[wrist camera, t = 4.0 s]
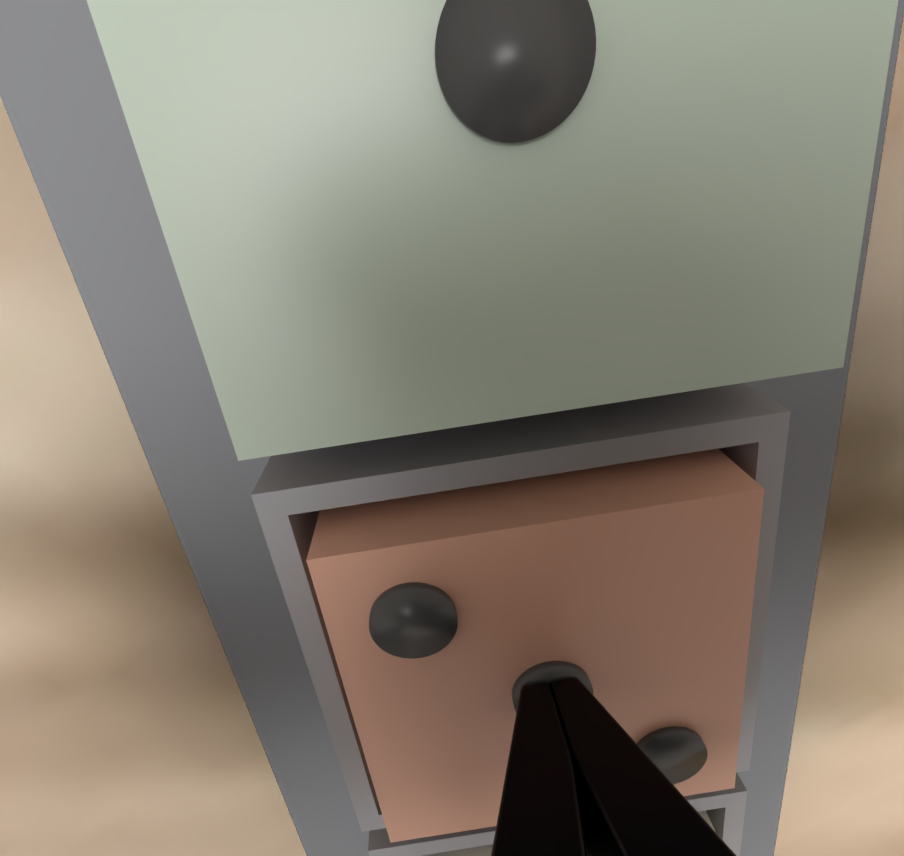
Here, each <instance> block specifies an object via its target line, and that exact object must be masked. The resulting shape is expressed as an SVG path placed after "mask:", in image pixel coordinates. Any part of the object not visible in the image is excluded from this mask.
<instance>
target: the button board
mask: <svg viewBox="0 0 904 856" xmlns="http://www.w3.org/2000/svg"><path fill="white" fill-rule="evenodd" d="M903 15H904V0H898V7H897V13H896V20H895V26H894V33H893V40H892V46H891V53H890V60H889V66H888V73H887V80H886V86H885V93H884V100H883V106H882V113H881V120H880V126H879V133H878V140H877V146H876V153H875V160H874V166H873V173H872V180H871V186H870V193H869V200H868V206H867V213H866V220H865V226H864V233H863V240H862V246H861V253H860V260H859V266H858V273H857V280H856V286H855V293H854V300H853V306H852V313H851V320H850V326H849V333H848V340H847V346H846V353H845V360H844V366H843V367H842V368H836V369H830V370H823V371H817V372H810V373H804V374H797V375H791V376H784V377H778V378H771V379H765V380H758V381H752V382H745V383H739V384H733V385H726V386H720V387H713V388H707V389H700V390H694V391H687V392H681V393H674V394H668V395H661V396H655V397H649V398H642V399H636V400H629V401H623V402H616V403H610V404H603V405H597V406H590V407H584V408H577V409H571V410H565V411H558V412H552V413H545V414H539V415H532V416H526V417H519V418H513V419H506V420H500V421H493V422H487V423H480V424H474V425H468V426H461V427H455V428H448V429H442V430H435V431H429V432H422V433H416V434H409V435H403V436H396V437H390V438H384V439H377V440H371V441H364V442H358V443H351V444H345V445H338V446H332V447H325V448H319V449H312V450H306V451H299V452H293V453H287V454H280V455H274V456H267V457H261V458H254V459H248V460H241V461H238V458H237V455H236V452H235V449H234V446H233V443H232V440H231V437H230V434H229V431H228V428H227V425H226V422H225V419H224V416H223V413H222V410H221V407H220V404H219V401H218V398H217V395H216V392H215V389H214V386H213V383H212V380H211V376H210V373H209V370H208V367H207V364H206V361H205V358H204V355H203V352H202V349H201V346H200V343H199V340H198V337H197V334H196V331H195V328H194V325H193V322H192V319H191V316H190V313H189V310H188V307H187V304H186V301H185V298H184V295H183V292H182V289H181V286H180V282H179V279H178V276H177V273H176V270H175V267H174V264H173V261H172V258H171V255H170V252H169V249H168V246H167V243H166V240H165V237H164V234H163V231H162V228H161V225H160V222H159V219H158V216H157V213H156V210H155V207H154V204H153V201H152V198H151V195H150V192H149V188H148V185H147V182H146V179H145V176H144V173H143V170H142V167H141V164H140V161H139V158H138V155H137V152H136V149H135V146H134V143H133V140H132V137H131V134H130V131H129V128H128V125H127V122H126V119H125V116H124V113H123V110H122V107H121V104H120V101H119V98H118V94H117V91H116V88H115V85H114V82H113V79H112V76H111V73H110V70H109V67H108V64H107V61H106V58H105V55H104V52H103V49H102V46H101V43H100V40H99V37H98V34H97V31H96V28H95V25H94V22H93V19H92V16H91V13H90V10H89V7H88V4H87V0H0V96H1V98H2V101H3V103H4V106H5V108H6V111H7V113H8V116H9V118H10V121H11V123H12V126H13V128H14V131H15V133H16V136H17V138H18V141H19V143H20V146H21V148H22V150H23V153H24V155H25V158H26V160H27V163H28V165H29V168H30V170H31V173H32V175H33V178H34V180H35V183H36V185H37V188H38V190H39V193H40V195H41V198H42V200H43V203H44V205H45V207H46V210H47V212H48V215H49V217H50V220H51V222H52V225H53V227H54V230H55V232H56V235H57V237H58V240H59V242H60V245H61V247H62V250H63V252H64V255H65V257H66V260H67V262H68V265H69V267H70V269H71V272H72V274H73V277H74V279H75V282H76V284H77V287H78V289H79V292H80V294H81V297H82V299H83V302H84V304H85V307H86V309H87V312H88V314H89V317H90V319H91V322H92V324H93V326H94V329H95V331H96V334H97V336H98V339H99V341H100V344H101V346H102V349H103V351H104V354H105V356H106V359H107V361H108V364H109V366H110V369H111V371H112V374H113V376H114V379H115V381H116V383H117V386H118V388H119V391H120V393H121V396H122V398H123V401H124V403H125V406H126V408H127V411H128V413H129V416H130V418H131V421H132V423H133V426H134V428H135V431H136V433H137V436H138V438H139V441H140V443H141V445H142V448H143V450H144V453H145V455H146V458H147V460H148V463H149V465H150V468H151V470H152V473H153V475H154V478H155V480H156V483H157V485H158V488H159V490H160V493H161V495H162V498H163V500H164V502H165V505H166V507H167V510H168V512H169V515H170V517H171V520H172V522H173V525H174V527H175V530H176V532H177V535H178V537H179V540H180V542H181V545H182V547H183V550H184V552H185V555H186V557H187V560H188V562H189V564H190V567H191V569H192V572H193V574H194V577H195V579H196V582H197V584H198V587H199V589H200V592H201V594H202V597H203V599H204V602H205V604H206V607H207V609H208V612H209V614H210V617H211V619H212V621H213V624H214V626H215V629H216V631H217V634H218V636H219V639H220V641H221V644H222V646H223V649H224V651H225V654H226V656H227V659H228V661H229V664H230V666H231V669H232V671H233V674H234V676H235V679H236V681H237V683H238V686H239V688H240V691H241V693H242V696H243V698H244V701H245V703H246V706H247V708H248V711H249V713H250V716H251V718H252V721H253V723H254V726H255V728H256V731H257V733H258V736H259V738H260V740H261V743H262V745H263V748H264V750H265V753H266V755H267V758H268V760H269V763H270V765H271V768H272V770H273V773H274V775H275V778H276V780H277V783H278V785H279V788H280V790H281V793H282V795H283V797H284V800H285V802H286V805H287V807H288V810H289V812H290V815H291V817H292V820H293V822H294V825H295V827H296V830H297V832H298V835H299V837H300V840H301V842H302V845H303V847H304V850H305V852H306V855H307V856H422V855H428V854H434V853H441V852H447V851H453V850H460V849H466V848H472V847H479V846H485V845H491V844H493V842H494V836H495V830H496V826H493V827H486V828H480V829H474V830H468V831H461V832H455V833H449V834H442V835H436V836H430V837H423V838H417V839H411V840H405V841H398V842H392V843H390V839H389V836H388V832H387V829H386V826H385V822H384V819H383V816H382V812H381V809H380V806H379V802H378V799H377V796H376V792H375V789H374V786H373V782H372V779H371V776H370V772H369V769H368V766H367V762H366V759H365V755H364V752H363V749H362V745H361V742H360V739H359V735H358V732H357V729H356V725H355V722H354V719H353V715H352V712H351V709H350V705H349V702H348V699H347V695H346V692H345V689H344V685H343V682H342V679H341V675H340V672H339V668H338V665H337V662H336V658H335V655H334V652H333V648H332V645H331V642H330V638H329V635H328V632H327V628H326V625H325V622H324V618H323V615H322V612H321V608H320V605H319V602H318V598H317V595H316V592H315V588H314V585H313V581H312V578H311V575H310V571H309V568H308V565H307V561H306V559H307V555H308V552H309V548H310V544H311V541H312V537H313V533H314V530H315V526H316V523H317V519H318V515H319V512H320V510H325V509H332V508H338V507H344V506H351V505H357V504H364V503H370V502H377V501H383V500H390V499H396V498H402V497H409V496H415V495H422V494H428V493H435V492H441V491H447V490H454V489H460V488H467V487H473V486H480V485H486V484H493V483H499V482H505V481H512V480H518V479H525V478H531V477H538V476H544V475H551V474H557V473H563V472H570V471H576V470H583V469H589V468H596V467H602V466H608V465H615V464H621V463H628V462H634V461H641V460H647V459H654V458H660V457H666V456H673V455H679V454H686V453H692V452H699V451H705V450H711V449H719V450H720V451H722V452H723V453H724V454H725V455H726V456H727V457H728V458H730V459H731V460H732V461H733V462H734V463H735V464H736V465H738V466H739V467H740V468H741V469H742V470H743V471H744V472H746V473H747V474H748V475H749V476H750V477H751V478H752V479H754V480H755V481H756V482H757V483H758V484H759V485H761V486H762V487H763V488H764V498H763V508H762V518H761V528H760V538H759V548H758V558H757V568H756V578H755V588H754V598H753V608H752V618H751V628H750V638H749V648H748V658H747V668H746V678H745V688H744V698H743V708H742V718H741V728H740V738H739V748H738V759H737V769H736V779H735V788H732V789H726V790H720V791H713V792H707V793H701V794H694V795H688V796H684V797H685V798H686V799H687V801H688V802H689V803H690V804H691V805H692V806H693V807H694V808H695V809H696V811H697V812H699V811H705V810H706V812H707V814H708V816H709V819H710V821H711V823H712V825H713V827H714V829H715V831H716V833H717V834H718V835H719V836H720V837H721V839H722V840H723V841H724V842H725V843H726V844H727V845H728V846H729V848H730V849H731V850H732V851H733V852H734V853H735V854H736V855H737V856H774V850H775V844H776V837H777V831H778V824H779V818H780V811H781V805H782V798H783V792H784V785H785V779H786V772H787V766H788V760H789V753H790V747H791V740H792V734H793V727H794V721H795V714H796V708H797V701H798V695H799V688H800V682H801V675H802V669H803V662H804V656H805V649H806V643H807V636H808V630H809V624H810V617H811V611H812V604H813V598H814V591H815V585H816V578H817V572H818V565H819V559H820V552H821V546H822V539H823V533H824V526H825V520H826V513H827V507H828V500H829V494H830V488H831V481H832V475H833V468H834V462H835V455H836V449H837V442H838V436H839V429H840V423H841V416H842V410H843V403H844V397H845V390H846V384H847V377H848V371H849V364H850V358H851V351H852V345H853V339H854V332H855V326H856V319H857V313H858V306H859V300H860V293H861V287H862V280H863V274H864V267H865V261H866V254H867V248H868V241H869V235H870V228H871V222H872V215H873V209H874V203H875V196H876V190H877V183H878V177H879V170H880V164H881V157H882V151H883V144H884V138H885V131H886V125H887V118H888V112H889V105H890V99H891V92H892V86H893V79H894V73H895V67H896V60H897V54H898V47H899V41H900V34H901V28H902V21H903Z"/></svg>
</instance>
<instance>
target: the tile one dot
mask: <svg viewBox="0 0 904 856" xmlns="http://www.w3.org/2000/svg"><path fill="white" fill-rule="evenodd" d="M87 4H88V7H89V10H90V13H91V16H92V19H93V22H94V25H95V28H96V31H97V34H98V37H99V40H100V43H101V46H102V49H103V52H104V55H105V58H106V61H107V64H108V67H109V70H110V73H111V76H112V79H113V82H114V85H115V88H116V91H117V94H118V98H119V101H120V104H121V107H122V110H123V113H124V116H125V119H126V122H127V125H128V128H129V131H130V134H131V137H132V140H133V143H134V146H135V149H136V152H137V155H138V158H139V161H140V164H141V167H142V170H143V173H144V176H145V179H146V182H147V185H148V188H149V192H150V195H151V198H152V201H153V204H154V207H155V210H156V213H157V216H158V219H159V222H160V225H161V228H162V231H163V234H164V237H165V240H166V243H167V246H168V249H169V252H170V255H171V258H172V261H173V264H174V267H175V270H176V273H177V276H178V279H179V282H180V286H181V289H182V292H183V295H184V298H185V301H186V304H187V307H188V310H189V313H190V316H191V319H192V322H193V325H194V328H195V331H196V334H197V337H198V340H199V343H200V346H201V349H202V352H203V355H204V358H205V361H206V364H207V367H208V370H209V373H210V376H211V380H212V383H213V386H214V389H215V392H216V395H217V398H218V401H219V404H220V407H221V410H222V413H223V416H224V419H225V422H226V425H227V428H228V431H229V434H230V437H231V440H232V443H233V446H234V449H235V452H236V455H237V458H238V461H241V460H248V459H254V458H261V457H267V456H274V455H280V454H287V453H293V452H299V451H306V450H312V449H319V448H325V447H332V446H338V445H345V444H351V443H358V442H364V441H371V440H377V439H384V438H390V437H396V436H403V435H409V434H416V433H422V432H429V431H435V430H442V429H448V428H455V427H461V426H468V425H474V424H480V423H487V422H493V421H500V420H506V419H513V418H519V417H526V416H532V415H539V414H545V413H552V412H558V411H565V410H571V409H577V408H584V407H590V406H597V405H603V404H610V403H616V402H623V401H629V400H636V399H642V398H649V397H655V396H661V395H668V394H674V393H681V392H687V391H694V390H700V389H707V388H713V387H720V386H726V385H733V384H739V383H745V382H752V381H758V380H765V379H771V378H778V377H784V376H791V375H797V374H804V373H810V372H817V371H823V370H830V369H836V368H842V367H843V366H844V360H845V353H846V346H847V340H848V333H849V326H850V320H851V313H852V306H853V300H854V293H855V286H856V280H857V273H858V266H859V260H860V253H861V246H862V240H863V233H864V226H865V220H866V213H867V206H868V200H869V193H870V186H871V180H872V173H873V166H874V160H875V153H876V146H877V140H878V133H879V126H880V120H881V113H882V106H883V100H884V93H885V86H886V80H887V73H888V66H889V60H890V53H891V46H892V40H893V33H894V26H895V20H896V13H897V7H898V0H87Z"/></svg>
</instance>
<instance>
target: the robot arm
mask: <svg viewBox="0 0 904 856" xmlns="http://www.w3.org/2000/svg"><path fill="white" fill-rule="evenodd" d="M491 856H737V855H736V854H735V853H734V852H733V851H732V850H731V849H730V848H729V846H728V845H727V844H726V843H725V842H724V841H723V840H722V839H721V837H720V836H719V835H718V834H717V833H716V832H715V831H714V830H713V829H712V827H711V826H710V825H709V824H708V823H707V822H706V821H705V820H704V818H703V817H702V816H701V815H700V814H699V813H698V812H697V811H696V809H695V808H694V807H693V806H692V805H691V804H690V803H689V802H688V801H687V799H686V798H685V797H684V796H683V795H682V794H681V793H680V792H679V790H678V789H677V788H676V787H675V786H674V785H673V784H672V783H671V781H670V780H669V779H668V778H667V777H666V776H665V775H664V774H663V773H662V771H661V770H660V769H659V768H658V767H657V766H656V765H655V764H654V762H653V761H652V760H651V759H650V758H649V757H648V756H647V755H646V753H645V752H644V751H643V750H642V749H641V748H640V747H639V746H638V745H637V743H636V742H635V741H634V740H633V739H632V738H631V737H630V736H629V734H628V733H627V732H626V731H625V730H624V729H623V728H622V727H621V725H620V724H619V723H618V722H617V721H616V720H615V719H614V718H613V717H612V715H611V714H610V713H609V712H608V711H607V710H606V709H605V708H604V706H603V705H602V704H601V703H600V702H599V701H598V700H597V699H596V697H595V696H594V695H593V694H592V693H591V692H590V691H589V690H588V689H587V687H586V686H585V685H584V684H583V683H582V682H581V681H580V680H579V679H578V678H576V677H567V678H560V679H554V680H552V681H551V682H550V685H549V683H548V682H546V681H541V682H535V683H529V684H524V685H523V686H522V687H521V690H520V695H519V701H518V706H517V712H516V718H515V723H514V729H513V735H512V740H511V746H510V752H509V757H508V763H507V768H506V774H505V780H504V785H503V791H502V797H501V802H500V808H499V814H498V819H497V825H496V830H495V836H494V842H493V847H492V853H491Z"/></svg>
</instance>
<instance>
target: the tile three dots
mask: <svg viewBox="0 0 904 856" xmlns="http://www.w3.org/2000/svg"><path fill="white" fill-rule="evenodd" d="M763 498H764V488H763V487H762V486H761V485H759V484H758V483H757V482H756V481H755V480H754V479H752V478H751V477H750V476H749V475H748V474H747V473H746V472H744V471H743V470H742V469H741V468H740V467H739V466H738V465H736V464H735V463H734V462H733V461H732V460H731V459H730V458H728V457H727V456H726V455H725V454H724V453H723V452H722V451H720V450H719V449H711V450H705V451H699V452H692V453H686V454H679V455H673V456H666V457H660V458H654V459H647V460H641V461H634V462H628V463H621V464H615V465H608V466H602V467H596V468H589V469H583V470H576V471H570V472H563V473H557V474H551V475H544V476H538V477H531V478H525V479H518V480H512V481H505V482H499V483H493V484H486V485H480V486H473V487H467V488H460V489H454V490H447V491H441V492H435V493H428V494H422V495H415V496H409V497H402V498H396V499H390V500H383V501H377V502H370V503H364V504H357V505H351V506H344V507H338V508H332V509H325V510H320V512H319V515H318V519H317V523H316V526H315V530H314V533H313V537H312V541H311V544H310V548H309V552H308V555H307V559H306V561H307V565H308V568H309V571H310V575H311V578H312V581H313V585H314V588H315V592H316V595H317V598H318V602H319V605H320V608H321V612H322V615H323V618H324V622H325V625H326V628H327V632H328V635H329V638H330V642H331V645H332V648H333V652H334V655H335V658H336V662H337V665H338V668H339V672H340V675H341V679H342V682H343V685H344V689H345V692H346V695H347V699H348V702H349V705H350V709H351V712H352V715H353V719H354V722H355V725H356V729H357V732H358V735H359V739H360V742H361V745H362V749H363V752H364V755H365V759H366V762H367V766H368V769H369V772H370V776H371V779H372V782H373V786H374V789H375V792H376V796H377V799H378V802H379V806H380V809H381V812H382V816H383V819H384V822H385V826H386V829H387V832H388V836H389V839H390V843H392V842H398V841H405V840H411V839H417V838H423V837H430V836H436V835H442V834H449V833H455V832H461V831H468V830H474V829H480V828H486V827H493V826H496V825H497V819H498V814H499V808H500V802H501V797H502V791H503V785H504V780H505V774H506V768H507V763H508V757H509V752H510V746H511V740H512V735H513V729H514V723H515V718H516V712H517V706H518V701H519V695H520V690H521V687H522V686H523V685H524V684H529V683H535V682H541V681H546V682H548V683H549V685H550V682H551V681H552V680H554V679H560V678H567V677H576V678H578V679H579V680H580V681H581V682H582V683H583V684H584V685H585V686H586V687H587V689H588V690H589V691H590V692H591V693H592V694H593V695H594V696H595V697H596V699H597V700H598V701H599V702H600V703H601V704H602V705H603V706H604V708H605V709H606V710H607V711H608V712H609V713H610V714H611V715H612V717H613V718H614V719H615V720H616V721H617V722H618V723H619V724H620V725H621V727H622V728H623V729H624V730H625V731H626V732H627V733H628V734H629V736H630V737H631V738H632V739H633V740H634V741H635V742H636V743H637V745H638V746H639V747H640V748H641V749H642V750H643V751H644V752H645V753H646V755H647V756H648V757H649V758H650V759H651V760H652V761H653V762H654V764H655V765H656V766H657V767H658V768H659V769H660V770H661V771H662V773H663V774H664V775H665V776H666V777H667V778H668V779H669V780H670V781H671V783H672V784H673V785H674V786H675V787H676V788H677V789H678V790H679V792H680V793H681V794H682V795H683V796H688V795H694V794H701V793H707V792H713V791H720V790H726V789H732V788H735V779H736V769H737V759H738V748H739V738H740V728H741V718H742V708H743V698H744V688H745V678H746V668H747V658H748V648H749V638H750V628H751V618H752V608H753V598H754V588H755V578H756V568H757V558H758V548H759V538H760V528H761V518H762V508H763Z"/></svg>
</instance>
